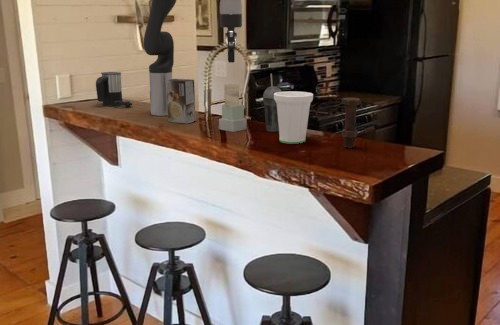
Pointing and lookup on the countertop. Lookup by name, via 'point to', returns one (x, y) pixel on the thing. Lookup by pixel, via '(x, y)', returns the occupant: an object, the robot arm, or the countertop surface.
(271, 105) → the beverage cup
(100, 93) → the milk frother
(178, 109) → the coffee box
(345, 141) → the bolt
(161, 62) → the robot arm
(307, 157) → the countertop surface
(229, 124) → the slab
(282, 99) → the cup
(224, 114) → the sage cube
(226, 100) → the birch block
